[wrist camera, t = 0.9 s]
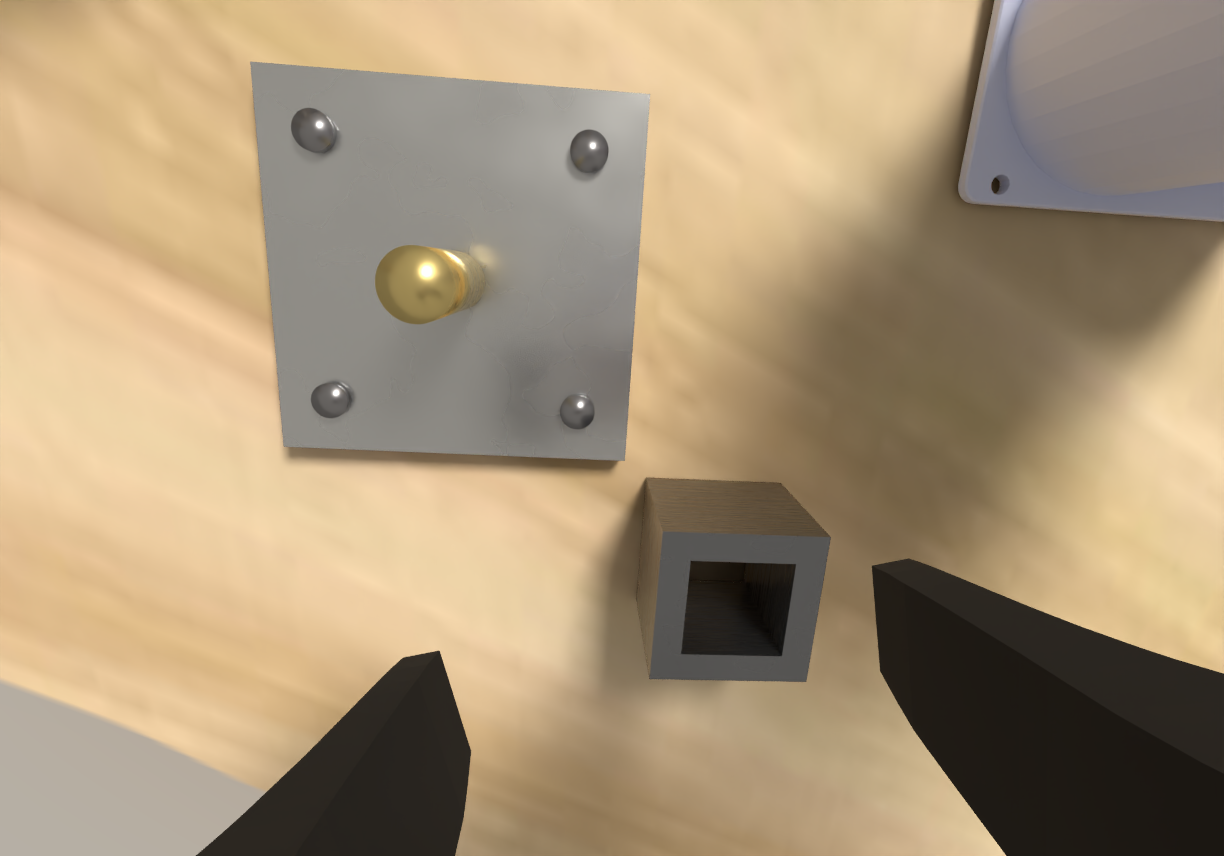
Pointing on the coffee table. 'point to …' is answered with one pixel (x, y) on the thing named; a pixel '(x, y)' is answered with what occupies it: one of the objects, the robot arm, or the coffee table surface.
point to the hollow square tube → (724, 610)
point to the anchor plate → (460, 201)
